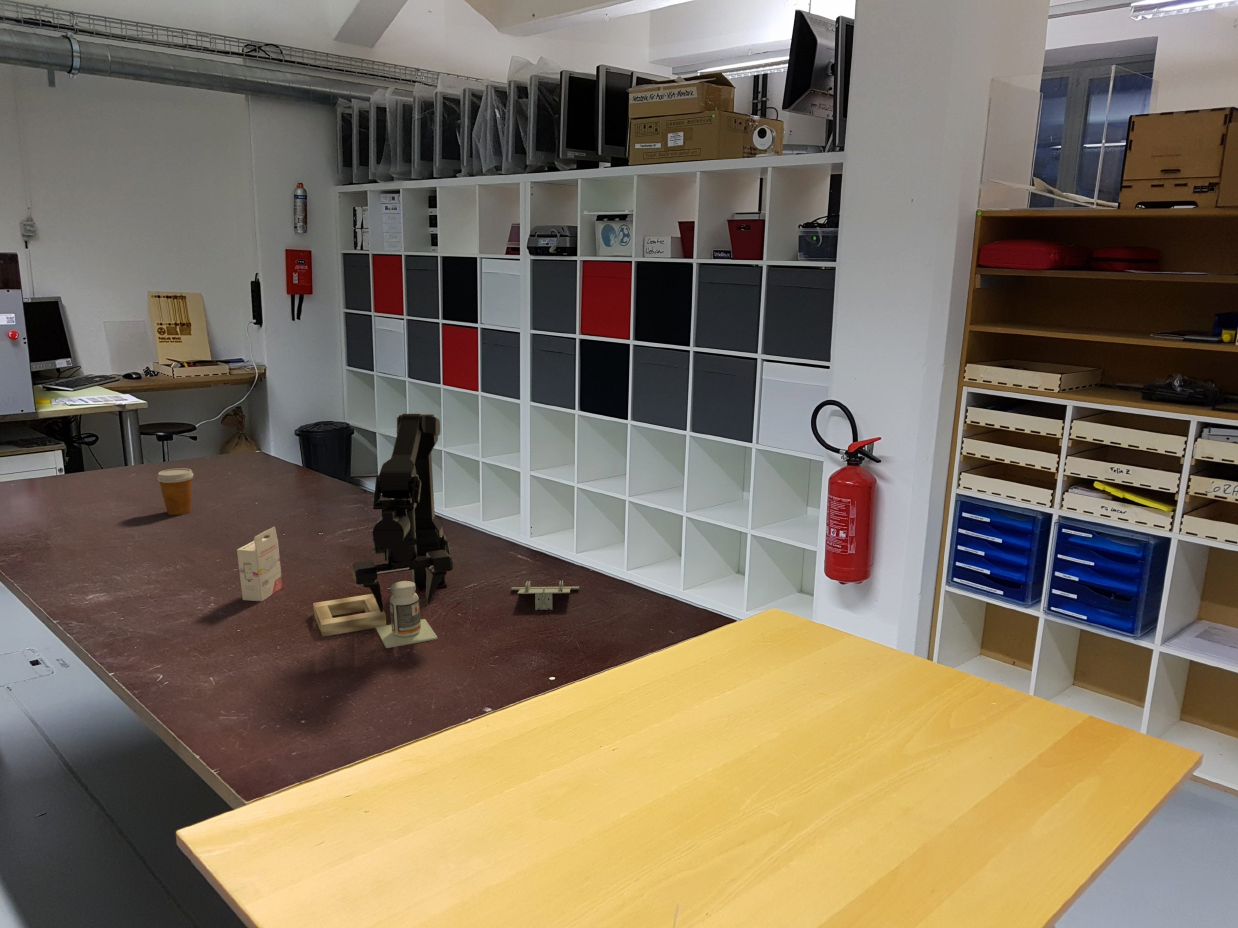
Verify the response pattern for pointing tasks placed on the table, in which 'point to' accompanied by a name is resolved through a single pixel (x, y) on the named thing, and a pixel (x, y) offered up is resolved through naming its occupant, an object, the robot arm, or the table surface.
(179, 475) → the disposable coffee cup
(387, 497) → the robot arm
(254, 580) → the ink cartridge box
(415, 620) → the pill bottle
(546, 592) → the metal bracket
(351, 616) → the pocket holder
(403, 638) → the mat
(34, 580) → the table surface
